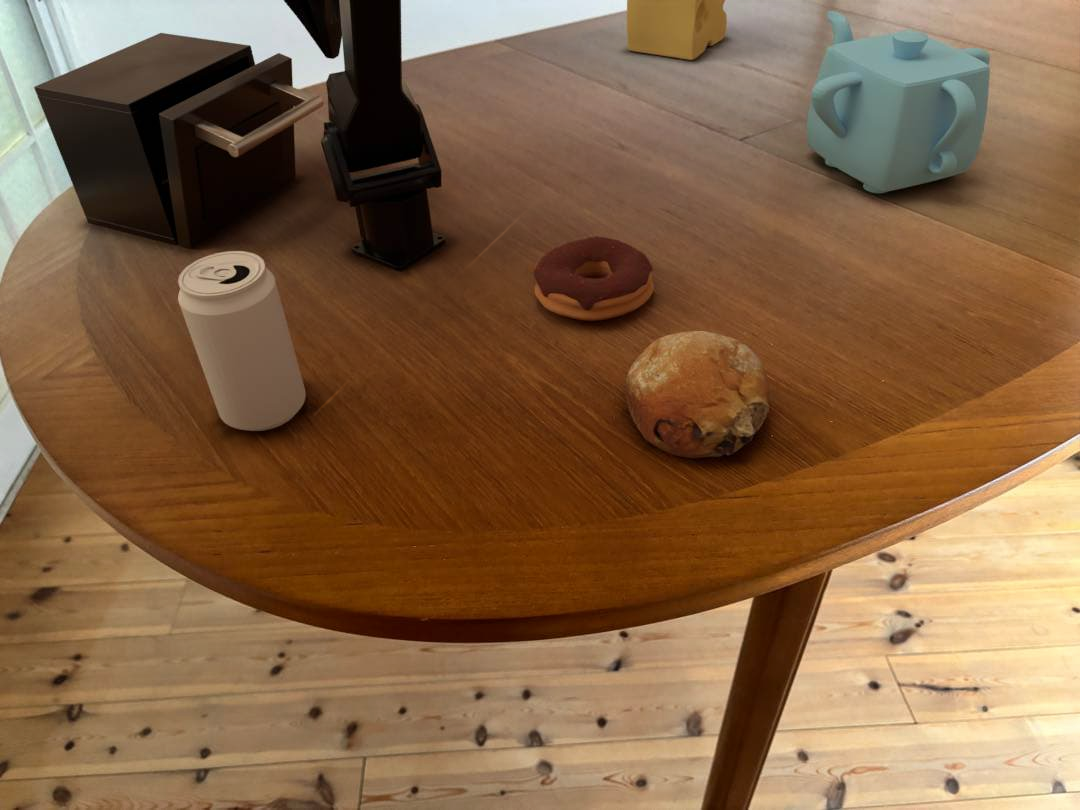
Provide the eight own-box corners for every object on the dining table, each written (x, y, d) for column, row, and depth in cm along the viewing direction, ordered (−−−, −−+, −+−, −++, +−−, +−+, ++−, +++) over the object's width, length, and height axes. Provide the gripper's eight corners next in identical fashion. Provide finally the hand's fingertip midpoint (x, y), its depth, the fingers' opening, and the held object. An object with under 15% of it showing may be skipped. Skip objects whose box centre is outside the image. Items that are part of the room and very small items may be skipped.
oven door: (335, 198, 97) (335, 76, 88) (233, 271, 86) (221, 141, 77) (284, 174, 99) (278, 52, 89) (177, 244, 88) (158, 113, 78)
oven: (282, 177, 99) (250, 45, 90) (176, 246, 88) (128, 104, 79) (199, 159, 103) (160, 32, 94) (88, 223, 93) (33, 86, 84)
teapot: (983, 151, 96) (1020, 18, 88) (953, 219, 85) (992, 75, 77) (811, 123, 104) (830, -2, 95) (764, 183, 93) (780, 48, 84)
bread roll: (751, 421, 70) (751, 317, 68) (788, 462, 60) (789, 342, 58) (622, 428, 70) (619, 324, 68) (637, 470, 60) (634, 350, 58)
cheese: (725, 39, 127) (732, -40, 120) (692, 63, 120) (697, -18, 113) (657, 29, 131) (660, -47, 125) (622, 52, 124) (623, -27, 118)
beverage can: (287, 442, 65) (244, 300, 58) (205, 433, 66) (153, 293, 59) (321, 387, 70) (286, 249, 62) (243, 379, 71) (200, 243, 64)
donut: (630, 258, 83) (631, 219, 80) (670, 316, 75) (673, 275, 73) (522, 278, 81) (519, 238, 78) (552, 339, 74) (550, 298, 71)
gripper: (439, -139, 81) (457, 41, 91) (274, -146, 88) (307, 22, 98) (366, -113, 74) (394, 80, 84) (192, -123, 81) (237, 56, 91)
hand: (332, 57), depth 89 cm, fingers closed
